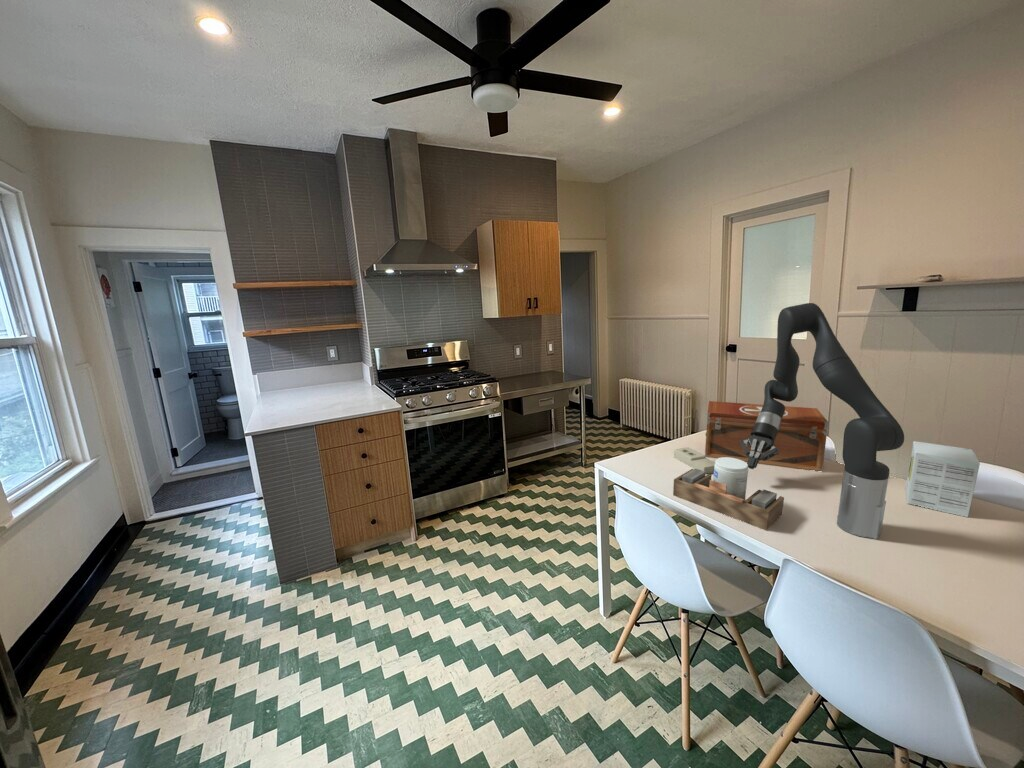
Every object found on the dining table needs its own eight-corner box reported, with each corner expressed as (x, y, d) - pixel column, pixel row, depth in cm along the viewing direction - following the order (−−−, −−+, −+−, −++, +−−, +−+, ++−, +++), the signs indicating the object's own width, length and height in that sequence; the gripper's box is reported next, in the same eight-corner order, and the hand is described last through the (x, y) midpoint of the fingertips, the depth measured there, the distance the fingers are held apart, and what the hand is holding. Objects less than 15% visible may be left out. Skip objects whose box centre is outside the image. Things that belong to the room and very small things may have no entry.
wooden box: (823, 472, 146) (829, 422, 142) (703, 457, 166) (706, 412, 162) (812, 453, 164) (818, 408, 160) (705, 441, 183) (708, 400, 179)
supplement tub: (705, 500, 131) (707, 460, 127) (725, 494, 134) (727, 454, 131) (731, 514, 122) (734, 471, 119) (751, 507, 125) (755, 464, 122)
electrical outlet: (704, 465, 149) (673, 449, 166) (703, 475, 150) (673, 458, 167) (719, 462, 151) (687, 446, 168) (719, 472, 152) (687, 455, 169)
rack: (782, 514, 120) (785, 485, 118) (766, 530, 113) (769, 499, 111) (691, 483, 143) (692, 459, 141) (673, 495, 135) (674, 469, 133)
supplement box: (904, 488, 132) (912, 440, 129) (962, 500, 123) (973, 448, 120) (905, 504, 123) (915, 452, 119) (969, 518, 114) (981, 462, 110)
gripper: (744, 418, 145) (728, 457, 140) (785, 425, 135) (769, 468, 130) (748, 428, 150) (733, 466, 145) (789, 436, 139) (773, 478, 135)
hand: (750, 467), depth 137 cm, fingers closed
